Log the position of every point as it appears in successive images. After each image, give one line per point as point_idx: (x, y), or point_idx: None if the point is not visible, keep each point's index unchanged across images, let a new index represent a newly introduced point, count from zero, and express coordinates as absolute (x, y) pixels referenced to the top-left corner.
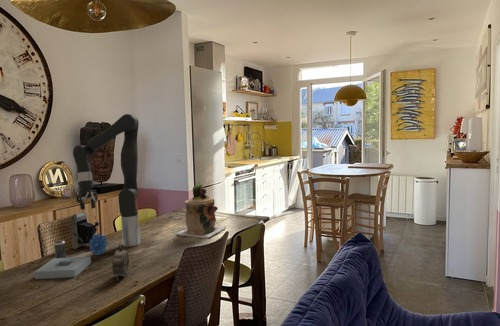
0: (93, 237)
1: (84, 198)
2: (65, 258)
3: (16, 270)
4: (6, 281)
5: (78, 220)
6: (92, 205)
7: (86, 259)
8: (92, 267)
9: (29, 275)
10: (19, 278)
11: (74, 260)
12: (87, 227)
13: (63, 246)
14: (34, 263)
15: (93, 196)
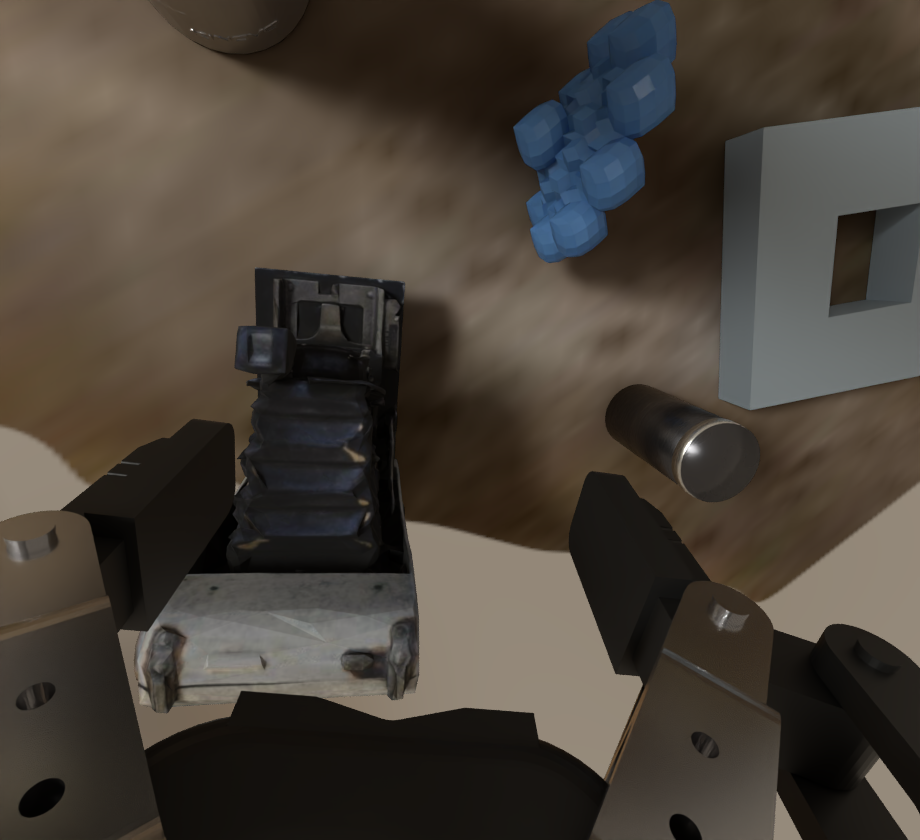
0: (643, 177)
1: (745, 699)
2: (770, 320)
3: (765, 553)
4: (906, 485)
5: (373, 580)
6: (200, 513)
7: (829, 122)
8: (815, 75)
9: (855, 428)
10: (884, 450)
11: (829, 217)
12: (368, 426)
13: (708, 412)
14: None
15: (13, 677)
